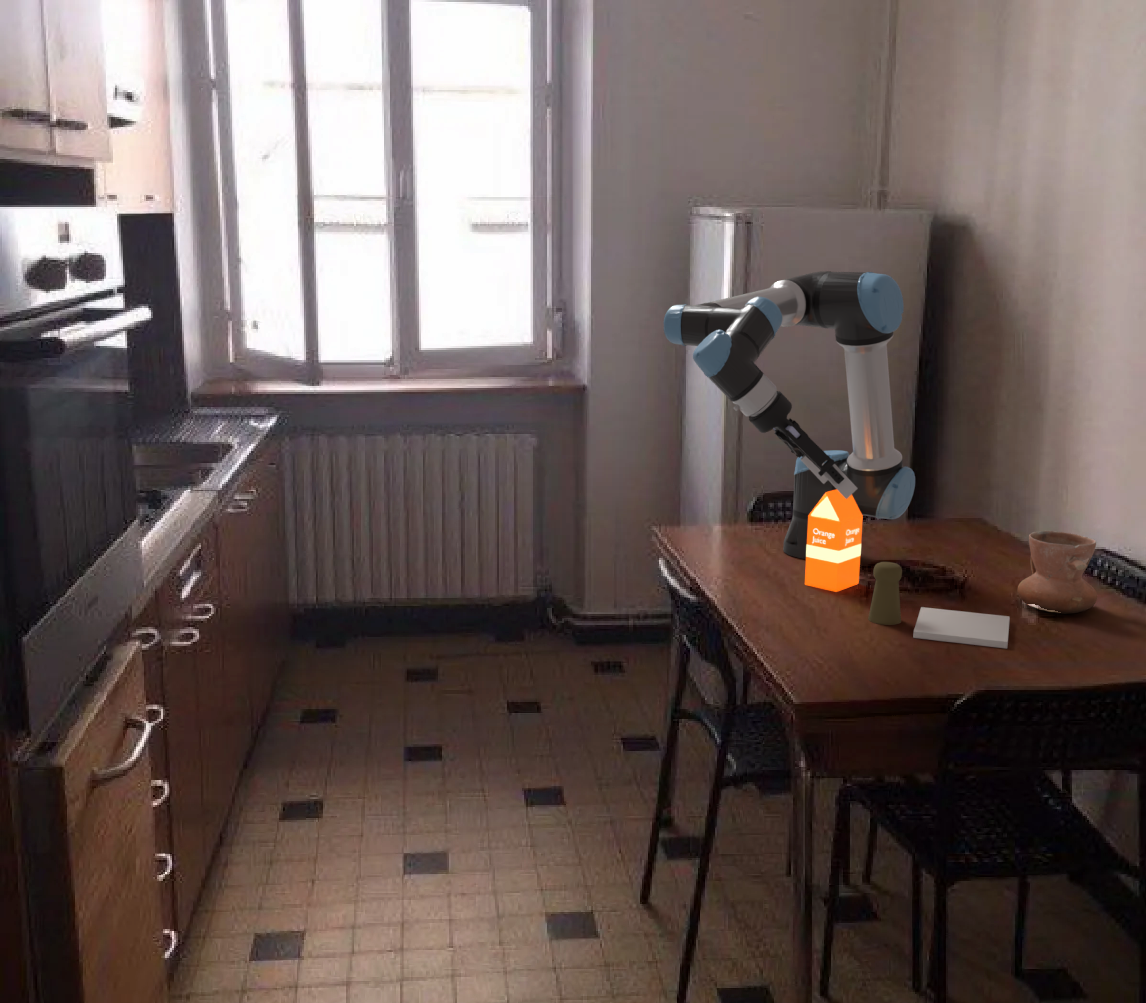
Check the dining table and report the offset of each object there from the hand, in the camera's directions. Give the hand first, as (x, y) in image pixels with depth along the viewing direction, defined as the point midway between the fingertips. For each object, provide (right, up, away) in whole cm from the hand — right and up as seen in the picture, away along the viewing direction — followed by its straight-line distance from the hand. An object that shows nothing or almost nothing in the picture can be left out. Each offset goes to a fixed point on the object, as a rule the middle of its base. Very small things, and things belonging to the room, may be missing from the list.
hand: (839, 485), depth 229 cm
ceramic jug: (+45, -24, +16) cm, 53 cm away
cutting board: (+23, -26, +1) cm, 35 cm away
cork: (+10, -25, +6) cm, 28 cm away
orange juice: (+5, -20, +30) cm, 36 cm away
